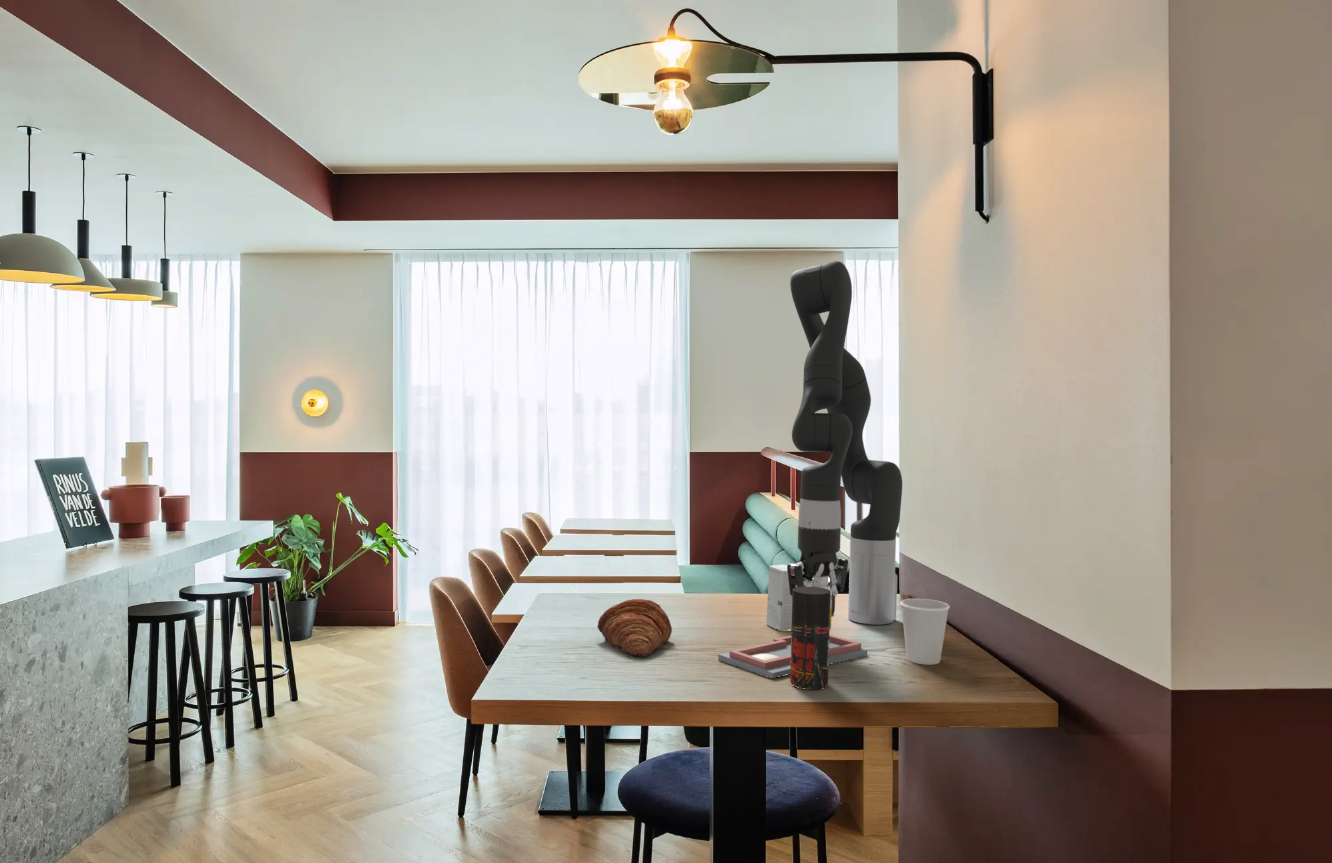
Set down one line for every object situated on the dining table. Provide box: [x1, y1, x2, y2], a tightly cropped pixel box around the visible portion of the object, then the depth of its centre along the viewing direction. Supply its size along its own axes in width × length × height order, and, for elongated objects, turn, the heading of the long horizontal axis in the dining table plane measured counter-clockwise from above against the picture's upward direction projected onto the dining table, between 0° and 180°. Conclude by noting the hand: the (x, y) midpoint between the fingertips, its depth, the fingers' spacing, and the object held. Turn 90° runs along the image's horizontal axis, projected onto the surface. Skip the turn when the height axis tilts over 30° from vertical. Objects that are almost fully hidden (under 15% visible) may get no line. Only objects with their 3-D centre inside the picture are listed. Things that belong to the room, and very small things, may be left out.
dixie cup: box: [900, 598, 951, 666], centre depth 156 cm, size 8×8×10 cm
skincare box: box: [765, 564, 797, 632], centre depth 177 cm, size 6×4×12 cm
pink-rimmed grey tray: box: [717, 634, 868, 679], centre depth 155 cm, size 24×13×2 cm, turn 129°
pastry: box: [597, 598, 673, 658], centre depth 164 cm, size 17×15×8 cm
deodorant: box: [789, 587, 831, 691], centre depth 140 cm, size 6×6×15 cm
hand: (816, 617), depth 159 cm, fingers closed on supplement bottle, 5 cm apart
